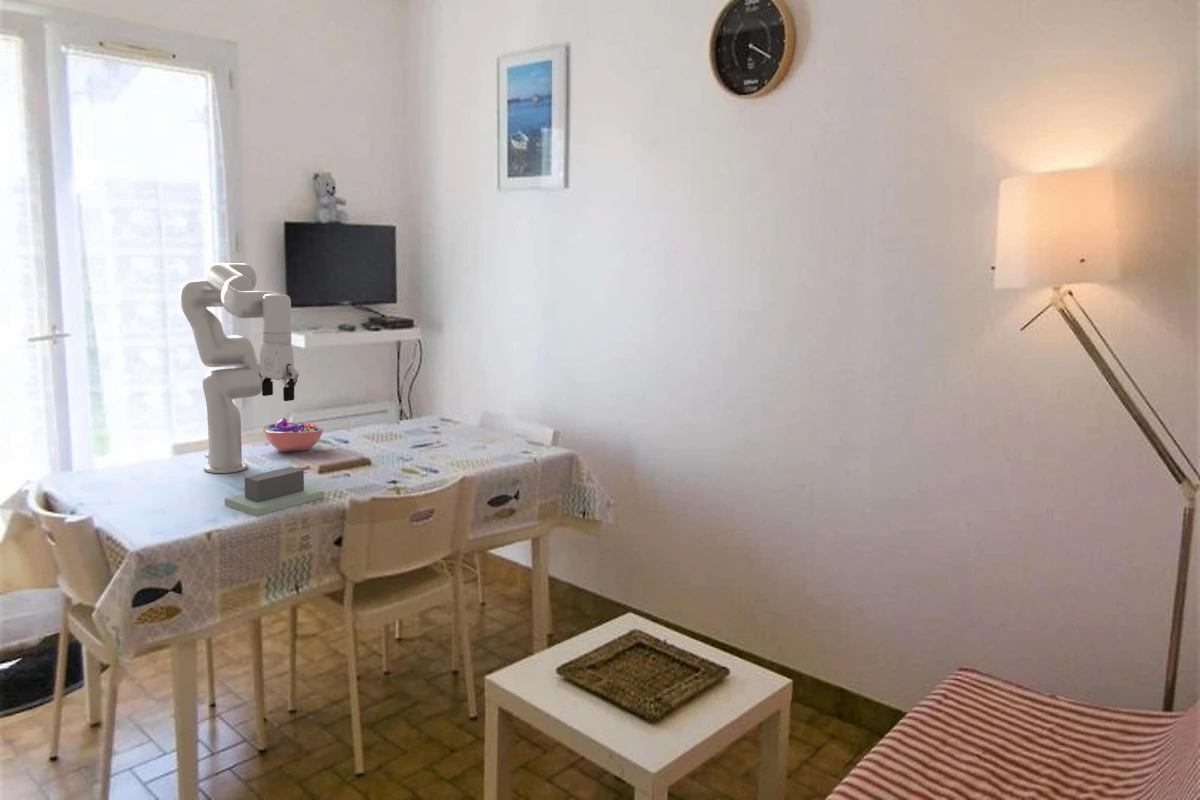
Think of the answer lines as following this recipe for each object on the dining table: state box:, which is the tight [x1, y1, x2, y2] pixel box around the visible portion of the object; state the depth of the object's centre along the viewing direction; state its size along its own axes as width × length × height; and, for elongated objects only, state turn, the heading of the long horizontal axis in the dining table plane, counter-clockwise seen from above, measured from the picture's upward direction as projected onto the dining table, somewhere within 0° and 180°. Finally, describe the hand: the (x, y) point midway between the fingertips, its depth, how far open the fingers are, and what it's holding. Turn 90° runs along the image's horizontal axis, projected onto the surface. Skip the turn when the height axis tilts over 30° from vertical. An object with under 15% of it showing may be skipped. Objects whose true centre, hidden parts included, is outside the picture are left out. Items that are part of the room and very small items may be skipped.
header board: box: [224, 484, 325, 517], centre depth 239 cm, size 14×22×6 cm, turn 146°
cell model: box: [262, 417, 324, 452], centre depth 293 cm, size 17×20×11 cm
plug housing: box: [244, 465, 311, 502], centre depth 240 cm, size 6×19×6 cm, turn 146°
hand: (278, 397), depth 242 cm, fingers open, 9 cm apart
